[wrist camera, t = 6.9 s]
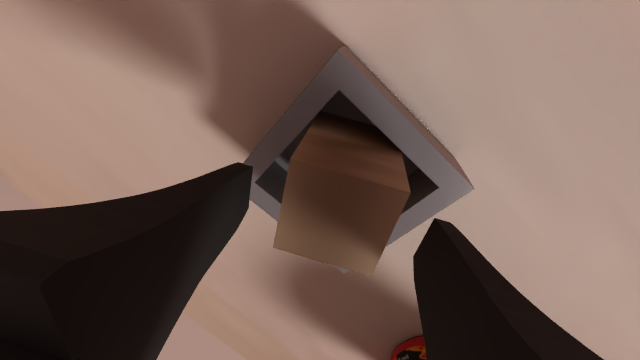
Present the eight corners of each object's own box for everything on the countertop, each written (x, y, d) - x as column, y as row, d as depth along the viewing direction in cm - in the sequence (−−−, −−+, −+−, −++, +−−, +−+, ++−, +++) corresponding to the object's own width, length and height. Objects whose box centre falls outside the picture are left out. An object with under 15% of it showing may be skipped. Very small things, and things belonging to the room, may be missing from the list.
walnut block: (396, 132, 14) (410, 192, 9) (371, 195, 16) (371, 276, 11) (320, 110, 14) (290, 158, 9) (305, 176, 16) (273, 247, 11)
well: (455, 158, 15) (474, 188, 12) (348, 236, 18) (343, 273, 15) (345, 45, 13) (338, 49, 10) (251, 156, 17) (227, 181, 14)
